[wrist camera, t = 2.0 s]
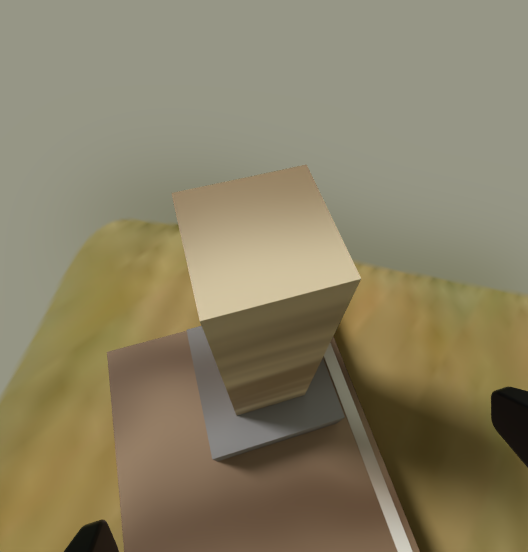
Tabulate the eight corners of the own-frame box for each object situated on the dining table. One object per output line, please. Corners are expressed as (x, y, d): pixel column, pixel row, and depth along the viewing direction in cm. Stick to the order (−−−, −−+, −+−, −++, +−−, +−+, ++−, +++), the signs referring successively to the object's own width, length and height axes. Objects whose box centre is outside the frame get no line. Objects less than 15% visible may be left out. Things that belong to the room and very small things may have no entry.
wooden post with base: (336, 423, 18) (462, 324, 7) (217, 461, 17) (131, 422, 6) (297, 314, 21) (339, 116, 10) (193, 343, 20) (102, 162, 9)
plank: (502, 788, 13) (528, 822, 12) (175, 953, 12) (163, 1013, 10) (314, 306, 23) (317, 295, 21) (116, 360, 21) (106, 351, 20)
